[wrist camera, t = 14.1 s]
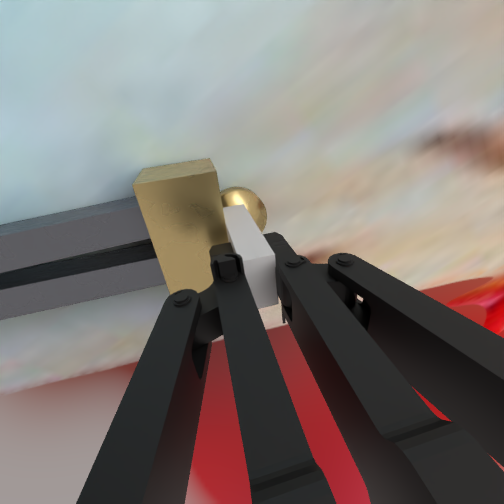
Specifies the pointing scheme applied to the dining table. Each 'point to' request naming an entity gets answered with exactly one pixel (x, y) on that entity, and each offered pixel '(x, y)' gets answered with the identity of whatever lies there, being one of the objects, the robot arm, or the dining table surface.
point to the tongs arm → (70, 233)
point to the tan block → (183, 220)
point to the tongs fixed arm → (98, 271)
